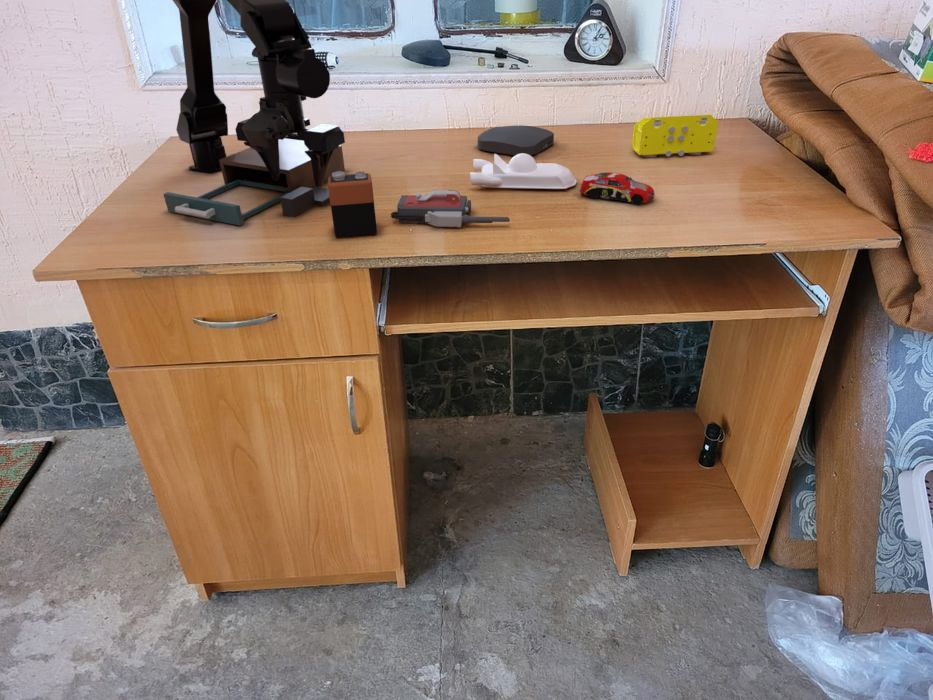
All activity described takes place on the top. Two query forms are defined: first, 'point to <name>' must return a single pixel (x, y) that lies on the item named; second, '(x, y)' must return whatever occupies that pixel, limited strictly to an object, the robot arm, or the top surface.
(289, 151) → the drawer unit
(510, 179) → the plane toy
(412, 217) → the walkie-talkie
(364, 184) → the battery
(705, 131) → the yellow toy chassis
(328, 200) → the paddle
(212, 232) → the top surface
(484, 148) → the media streaming box
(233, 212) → the drawer
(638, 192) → the race car
